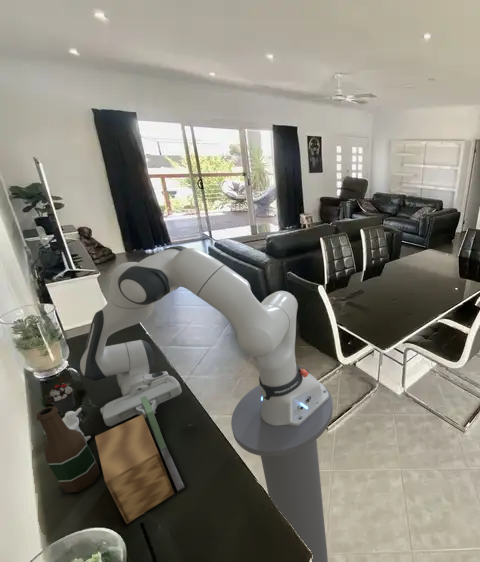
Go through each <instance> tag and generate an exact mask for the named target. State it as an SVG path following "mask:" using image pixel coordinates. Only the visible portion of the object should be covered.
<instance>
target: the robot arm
mask: <svg viewBox="0 0 480 562" xmlns="http://www.w3.org/2000/svg"><path fill="white" fill-rule="evenodd" d="M179 288H184V289H186V290H188V291H189V292H191V293H192V294H193V295H195V296H196V297H198V298H199V299H201V300H202V301H204V302H205V303H206V304H208V305H209V306H211V307H212V308H213V309H215V310H216V311H218V312H219V313H220V314H221V315H223V316H224V317H225V319H226V320H227V321H228V322H229V323H230V324H231V327H232V328H233V329H234V331H235V334H236V337H237V344H238V346H239V348H240V349H241V350H242V352H244V353H245V354H246V355H248V356H251V357H254V358H256V362H257V367H258V373H259V374H258V375H259V377H258V383H259V385H260V391H261V394H262V398H261V400H262V409H261V417H262V419H263V420H264V421H265V422H266V423H268V424H270V425H274V426H283V425H292V426H298V425H300V424H301V423H302V422H303V421H304V420H306V419H307V418H308V417H309V416H310V415H311V414H312V413H313V412H314V411H316V410H317V409H318V408H319V407H320V406H321V405H322V404H323V403H324V402H325V401H327V400H328V398H329V394H328V391H329V390H328V391H327V389H328V388H327V387H326V386H325V385H324V384H323V383H321V382H320V381H319V380H318V379H317V378H316V377H315V376H314V375H312V374H311V373H310V371H309V369H308V368H303V369H302V367H301V366H300V365H298V364H297V362H296V361H297V359H296V336H297V316H298V315H297V314H298V308H299V303H298V299H297V298H296V297H295V296H294V295H293V294H292V293H291V292H289V291H285V290H278V291H274V292H273V293H270V294H269V295H268V296H266V297H264V299H263V300H262V301H261V302H260V301H259V299H257V297H256V296H255V295H254V293H253V292H252V287H251V284H250V282H249V281H248V280H247V279H246V278H244V277H243V276H242V275H240V274H239V273H237V272H236V271H234V270H233V269H232V268H231V267H229V266H227V265H226V264H224V263H223V262H222V261H220V260H219V259H217V258H215V257H213V256H212V255H210V254H208V253H206V252H204V251H202V250H199V249H198V248H194V247H186V246H183V245H174V246H170V247H166V248H164V249H163V250H161V251H159V252H157V253H154V254H152V255H149V256H147V257H145V258H143V259H142V260H139V262H138V261H127V262H123V263H121V264H119V265H117V266H116V267H115V268H114V269H113V272H112V274H111V277H110V283H109V291H108V294H109V295H108V297H109V298H108V302H107V303H106V304H105V305H104V307H103V308H101V309H100V310H97V311H96V312H95V313H94V315H93V317H92V321H91V324H90V327H89V331H88V335H87V340H86V344H85V348H84V350H83V353H82V356H81V359H80V360H79V361H80V362H79V368H80V369H79V370H80V372H81V374H82V376H83V377H84V378H86V379H88V380H90V381H95V382H97V381H101V380H103V379H106V378H109V377H112V376H116V381H117V385H118V386H119V389H120V393H121V397H119V398H116V399H113V400H111V401H109V402H107V403H105V405H103V406H102V407H101V408H100V409H99V413H100V414H101V415H102V419H103V421H104V424H105V426H107V427H113V426H115V425H117V424H120V423H121V422H123V421H124V422H125V421H126V420H128V419H130V418H132V417H134V416H137V415H138V416H140V415H142V414H143V417H144V419H148V417H147V415H146V412H145V410H144V407H143V404H142V402H141V399H140V398H141V397H144V396H146V397H147V399H148V401H149V403H150V405H151V407H152V410H153V412H154V415H155V414H157V412H156V411H157V407H158V406H159V405H160V404H163V403H165V402H167V401H169V400H171V399H173V398H176V397H178V396H181V394H182V392H183V389H182V387H181V384H180V382H179V381H178V380H177V379H176V377H174V376H172V375H170V374H169V373H168V371H166V370H165V371H163V370H162V371H160V372H155V373H150V372H151V371H152V370H153V369H154V366H155V363H156V362H155V358H156V357H155V352H154V350H153V348H152V346H151V344H150V343H149V342H147V341H145V340H143V339H138V340H137V339H136V340H132V341H127V342H122V343H117V344H111V345H107V346H106V344H107V341H108V338H109V337H110V336H111V335H113V334H115V333H116V332H119V331H122V330H124V329H127V328H130V327H132V326H135V325H138V324H141V323H142V322H144V321H145V320H147V319H148V318H150V316H151V315H152V314H153V312H154V310H155V306H156V303H157V302H158V301H160V300H162V299H163V298H164V297H166V296H167V295H169V294H171V293H172V292H173V291H176V290H178V289H179ZM322 384H323V385H324V386H325V387H326V388H327V389H326V388H325V387H324V386H323V385H322ZM299 419H300V420H299Z"/></svg>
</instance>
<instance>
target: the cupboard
mask: <svg viewBox="0 0 480 562" xmlns="http://www.w3.org/2000/svg"><path fill="white" fill-rule="evenodd" d="M153 437H154V438H153ZM154 439H155V440H154ZM94 440H95V444H96V449H97V452H98V457H99V461H100V466H101V470H102V475H103V480H104V483H105V485H106V488H107V489H108V490H109V493H110V495H111V496H112V499H113V500H114V502H115V505H116V507H117V508H118V511H119V512H120V514H121V516H122V518H123V520H124V522H125V524H127V525H128V524H129V523H130V522H132V521H134V520H135V519H137V518H138V517H140V516H142V515H143V514H145V513H146V512H147V511H150V510H152V509H153V508H154V507H156V506H158V505H159V504H161V503H162V502H164V501H166V500H167V499H169V498H170V497H171V496H173V495H175V492H174V489H173V488H172V484H171V482H170V478H169V475H170V477H171V480H172V481H173V482H172V483H173V484H174V487H175V489H176V491H177V492H180V491H182V490H183V489H184V488H185V485H184V482H183V481H182V478H181V476H180V474H179V472H178V469H177V467H176V465H175V463H174V460H173V458H172V456H171V454H170V452H169V449H168V447H167V446H166V447H165V448H163V449H162V450H160V447H159V445H158V443H157V440H156V438H155V436H154V433H153V436H152V434H151V431H150V428H149V426H148V424H147V421H146V418H145V417H144V416H143V414H142V415H138V416H136V417H134V418H132V419H129V420H127V421H124V422H123V423H121V424H119V425H116V426H115V427H112V428H110V429H108V430H106V431H103V432H101V433H100V434H97V435H95V436H94ZM155 442H156V443H155ZM164 443H165V441H164ZM156 444H157V446H158V447H157V446H156ZM165 444H166V443H165ZM158 448H159V450H158ZM159 451H160V453H159ZM160 454H161V455H162V458H163V461H164V462H165V466H166V467H167V470H168V472H169V475H168V474H167V470H166V468H165V466H164V463H163V461H162V458H161V455H160Z"/></svg>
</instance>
